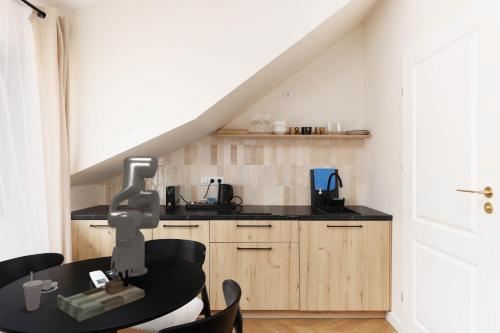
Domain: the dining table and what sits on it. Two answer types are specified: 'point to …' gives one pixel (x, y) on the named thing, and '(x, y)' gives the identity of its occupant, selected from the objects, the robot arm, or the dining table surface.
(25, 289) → the smoothie
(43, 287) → the teacup and saucer
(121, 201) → the robot arm
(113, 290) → the walnut block
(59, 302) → the board
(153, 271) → the dining table surface
